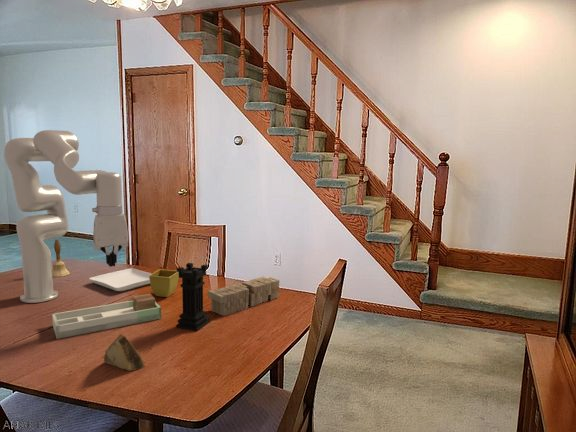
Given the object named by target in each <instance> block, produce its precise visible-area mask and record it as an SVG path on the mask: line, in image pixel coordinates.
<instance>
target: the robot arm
mask: <svg viewBox="0 0 576 432" xmlns="http://www.w3.org/2000/svg"><path fill="white" fill-rule="evenodd" d="M79 145H80V143H79V139H78V137H77V135H75V134H74V133H73V132H71V131H69V130H56V129H55V130H53V129H45V130H41V131H40V130H39V131H38V132H37V133H36V134H35V135H34V136H33V137H16V138H13V139H10V140H9V141H7V142H6V144H5V146H4V149H3V150H4V152H3V154H4V155H3V156H4V160H5V163H6V166H7V167H8V170H9V172H10V175H11V179H12V183H13V190H14V195H15V200H16V205H17V207H18V209H19V210H20V211H21V212H23V213H36V212H42V211H43V212H44V211H46V213H45V214H36V215H29V216H26V217H23V218H20V219H19V220H18V221H17V223H16V233H17V237H18V240H19V245H20V250H21V251H20V252H21V261H22V262H21V263H22V265H21V266H22V274H23V275H22V276H23V289H24V290H23V291H24V293H22V294H21V295H20V296H19V300H20V301H21V302H22V303H29V304H33V303H34V304H35V303H42V302H43V303H44V302H47V301H52V300H54V299H55V298H57V297H58V296H59V291H58V290H56V289H54V281H53V277H52V270H53V265H52V253H51V248H49V246H48V245H47V244H46V243H45V242H44V241H45V240H49V239H57V238H60V237H64V236H65V234H66V233H68V229H69V221H68V216H67V209H66V205H65V199H64V195H63V192H62V191H61V190H60V188H58V186H55V185H52V184H47V185H46V184H45V185H42V184H41V182H40V176H39V173H38V172H37V170H36V168H35V167H34V166H33V165H32V164H30V163H29V162H50V163H51V164H52V165H54V166H53V173H54V178H55V179H56V182H57V183H58V184H59V185H60V186H61V187H62V188H63V189H64V190H65V191H67V192H68V193H70V194H71V195H76V196H79V195H81V196H82V195H88V194H89V195H90V194H96V205H95V207H92V208H91V211H92V213H96V215H95V216H94V220H93V235H92V236H93V237H92V238H93V245H92V248H93V250H94V251H101V252H103V253H104V254H105V261H106V262H105V263H106V264H107V265H108V266H109V268H111V267H116V264H117V263H118V261H117V260H118V259H117V257H118V256H117V255H118V253H119V252H120V250H122V249H124V248H127V247H129V232H128V224H127V218H126V217H127V216H126V215H125V214H124V213H123V201H122V199H123V197H122V196H123V195H122V194H123V193H122V177H121V174H120V173H118V172H108V171H105V170H97V169H96V170H74V169H73V168H75V167H76V166H77V165H78V162H79V160H80V154H79V151H78V150H79ZM110 247H112V248H111V249H112V250H111V252H110Z"/></svg>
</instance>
